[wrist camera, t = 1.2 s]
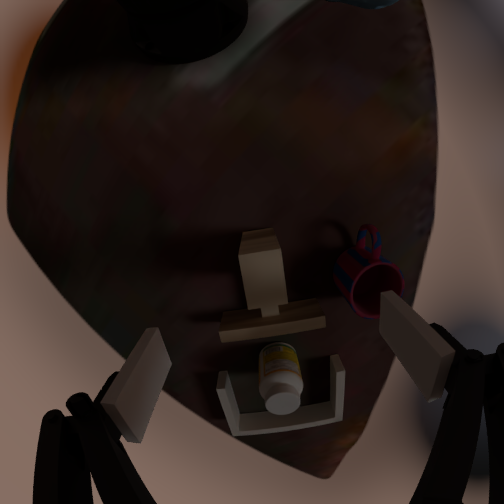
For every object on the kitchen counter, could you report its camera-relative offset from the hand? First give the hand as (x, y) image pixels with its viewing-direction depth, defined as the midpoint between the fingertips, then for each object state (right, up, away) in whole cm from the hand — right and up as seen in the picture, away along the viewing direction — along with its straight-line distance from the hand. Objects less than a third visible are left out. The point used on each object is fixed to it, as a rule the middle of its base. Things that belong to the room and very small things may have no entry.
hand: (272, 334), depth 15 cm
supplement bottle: (+2, -10, +22) cm, 24 cm away
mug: (+12, +4, +18) cm, 22 cm away
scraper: (0, +2, +19) cm, 19 cm away
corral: (+3, -16, +23) cm, 29 cm away
